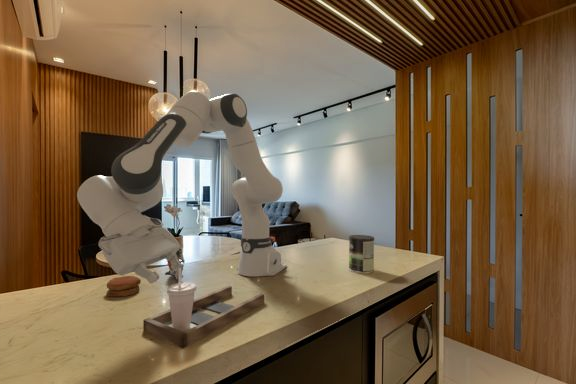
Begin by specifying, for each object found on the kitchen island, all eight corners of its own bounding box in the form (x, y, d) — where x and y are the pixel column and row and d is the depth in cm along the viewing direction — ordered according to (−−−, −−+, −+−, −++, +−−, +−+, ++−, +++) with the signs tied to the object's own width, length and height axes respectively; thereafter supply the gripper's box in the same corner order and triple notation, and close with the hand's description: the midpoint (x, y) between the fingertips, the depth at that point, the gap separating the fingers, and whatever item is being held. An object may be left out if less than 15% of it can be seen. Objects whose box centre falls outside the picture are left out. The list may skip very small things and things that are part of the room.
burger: (136, 296, 85) (136, 281, 85) (101, 299, 82) (101, 284, 82) (143, 286, 94) (143, 272, 94) (112, 289, 91) (112, 275, 91)
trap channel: (228, 293, 87) (228, 285, 87) (264, 302, 80) (264, 294, 80) (143, 330, 63) (143, 319, 63) (182, 348, 56) (182, 336, 56)
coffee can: (350, 273, 111) (350, 238, 111) (348, 266, 121) (348, 234, 121) (376, 274, 109) (376, 239, 109) (372, 267, 119) (372, 235, 120)
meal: (162, 274, 108) (163, 241, 108) (174, 272, 110) (174, 240, 110) (172, 284, 95) (172, 247, 96) (184, 282, 98) (185, 245, 98)
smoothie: (161, 328, 63) (162, 267, 64) (187, 319, 68) (188, 263, 68) (174, 338, 59) (174, 273, 59) (201, 327, 64) (201, 267, 64)
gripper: (104, 228, 55) (148, 278, 54) (163, 219, 75) (197, 255, 74) (84, 249, 56) (127, 300, 54) (148, 235, 76) (181, 271, 74)
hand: (168, 274), depth 64 cm, fingers open, 8 cm apart
